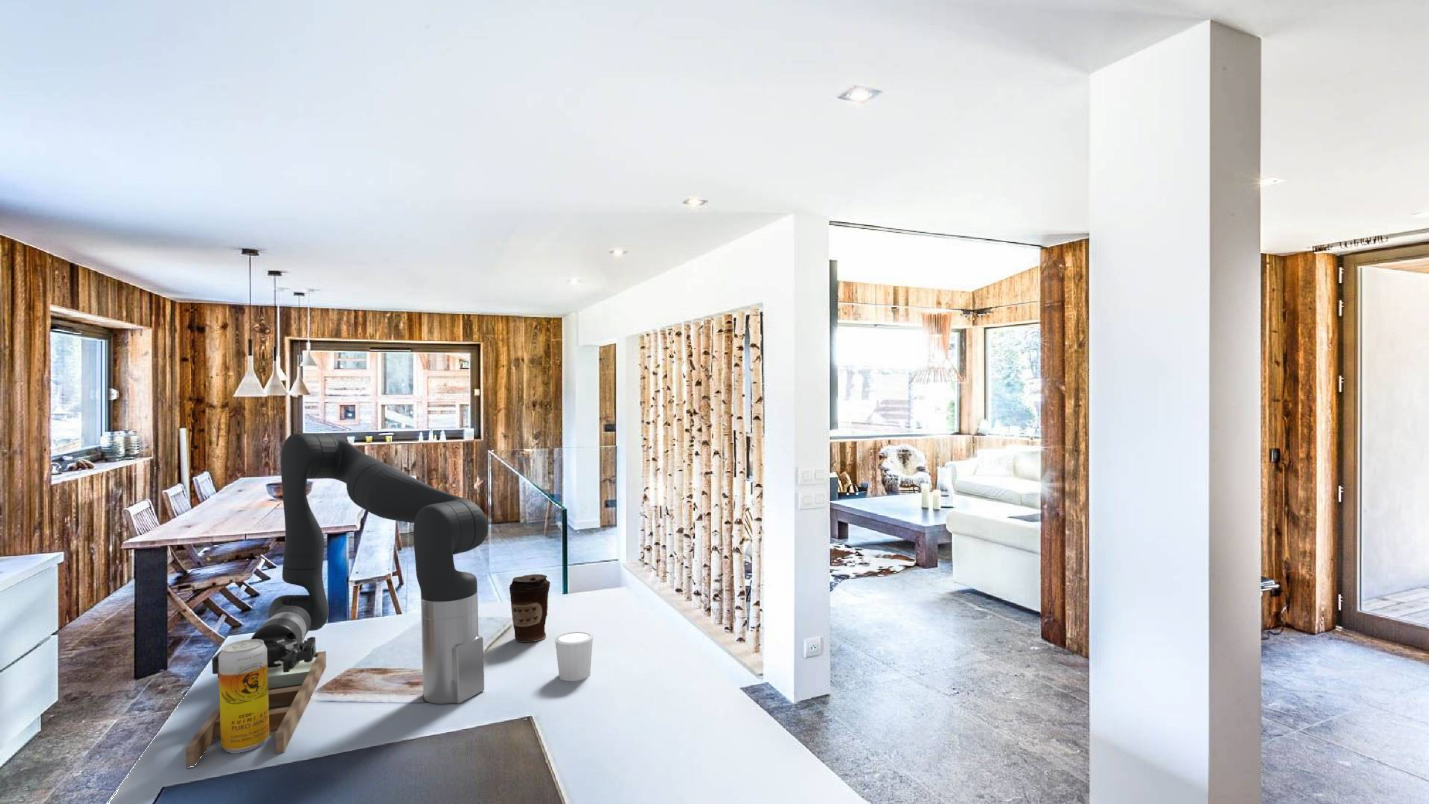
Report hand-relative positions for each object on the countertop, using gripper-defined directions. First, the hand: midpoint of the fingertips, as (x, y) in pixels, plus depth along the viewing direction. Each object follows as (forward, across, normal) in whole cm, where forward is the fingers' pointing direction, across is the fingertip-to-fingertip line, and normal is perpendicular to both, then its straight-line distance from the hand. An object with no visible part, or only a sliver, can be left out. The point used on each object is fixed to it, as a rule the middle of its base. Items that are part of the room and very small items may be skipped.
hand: (254, 670), depth 114 cm
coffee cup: (-26, +44, +9) cm, 52 cm away
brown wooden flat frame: (-7, 0, +9) cm, 11 cm away
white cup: (-2, +50, +9) cm, 51 cm away
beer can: (+6, 0, +9) cm, 11 cm away
